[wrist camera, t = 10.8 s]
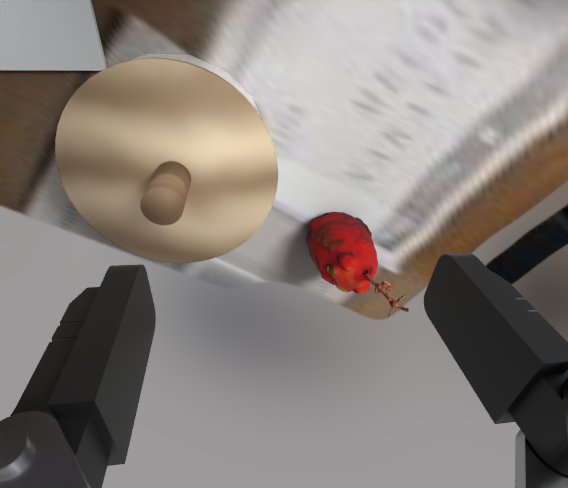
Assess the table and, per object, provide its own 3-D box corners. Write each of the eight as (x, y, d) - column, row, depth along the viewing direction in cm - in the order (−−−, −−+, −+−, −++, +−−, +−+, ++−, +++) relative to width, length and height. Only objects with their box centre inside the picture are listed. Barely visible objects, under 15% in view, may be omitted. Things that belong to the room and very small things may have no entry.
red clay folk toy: (292, 224, 39) (320, 322, 26) (347, 191, 37) (403, 278, 25) (324, 267, 43) (360, 369, 30) (374, 239, 41) (434, 334, 29)
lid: (22, 57, 23) (-38, 68, 18) (277, 57, 25) (287, 67, 20) (96, 263, 32) (71, 308, 27) (277, 252, 34) (284, 292, 29)
